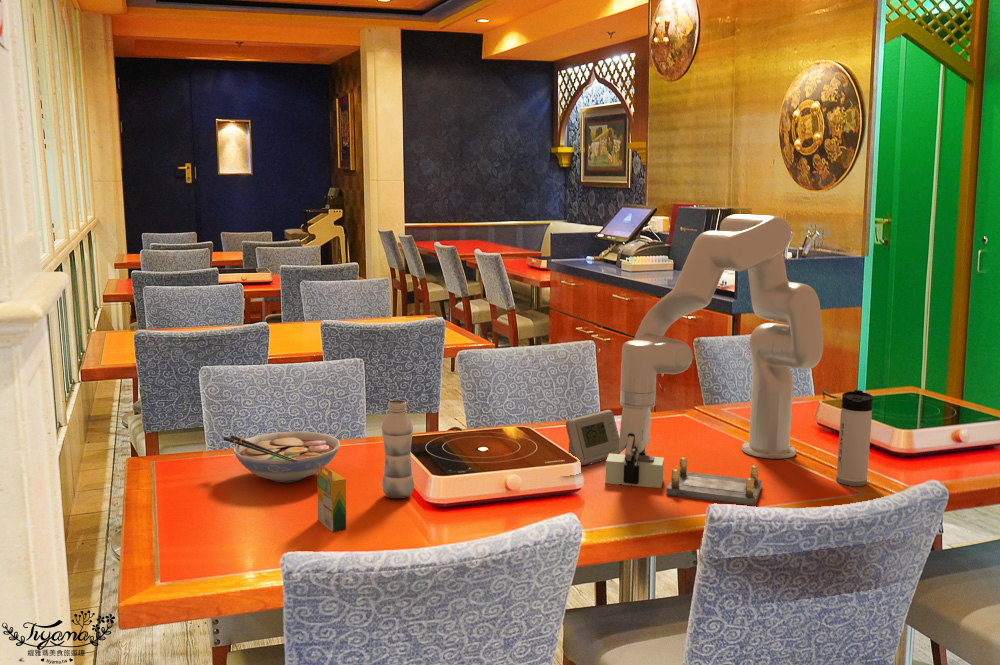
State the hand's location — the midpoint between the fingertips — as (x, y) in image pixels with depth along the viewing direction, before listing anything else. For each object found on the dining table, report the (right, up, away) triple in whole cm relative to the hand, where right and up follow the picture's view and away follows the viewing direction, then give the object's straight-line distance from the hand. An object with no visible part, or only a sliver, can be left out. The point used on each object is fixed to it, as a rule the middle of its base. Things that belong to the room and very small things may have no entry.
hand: (634, 477), depth 199 cm
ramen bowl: (-76, 0, +1) cm, 76 cm away
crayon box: (-61, -5, -27) cm, 67 cm away
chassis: (+16, -2, -6) cm, 17 cm away
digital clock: (-7, +2, +17) cm, 18 cm away
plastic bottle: (-50, -2, -11) cm, 52 cm away
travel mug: (+48, -1, +1) cm, 48 cm away
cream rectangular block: (0, -1, 0) cm, 1 cm away
